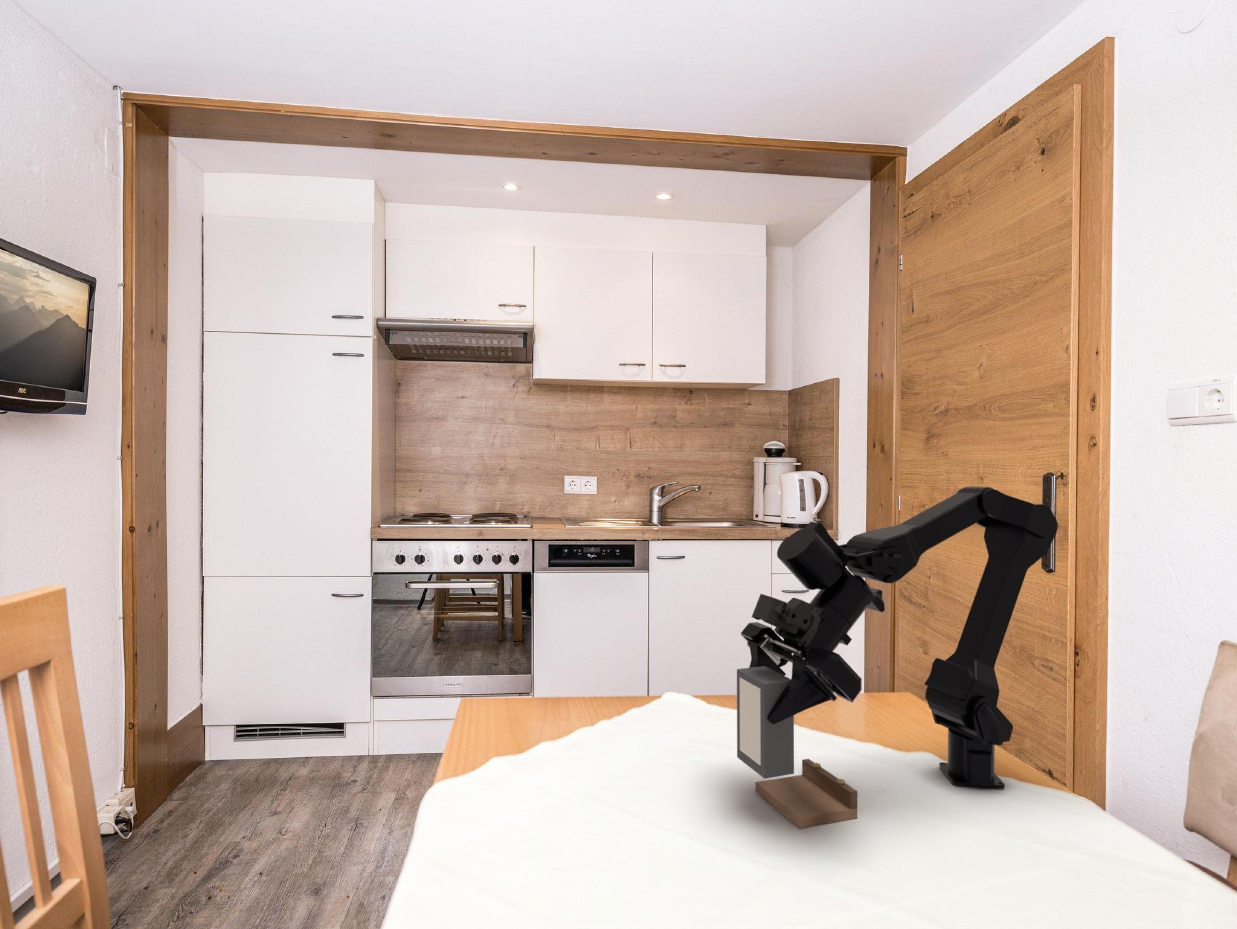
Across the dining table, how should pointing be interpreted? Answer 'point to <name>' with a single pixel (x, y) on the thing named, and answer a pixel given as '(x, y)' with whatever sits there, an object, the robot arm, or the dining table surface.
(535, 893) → the dining table surface
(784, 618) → the robot arm
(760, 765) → the grey box
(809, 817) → the drawer
